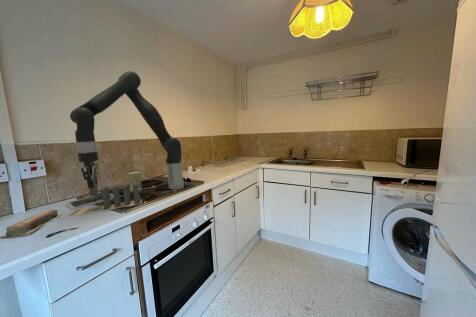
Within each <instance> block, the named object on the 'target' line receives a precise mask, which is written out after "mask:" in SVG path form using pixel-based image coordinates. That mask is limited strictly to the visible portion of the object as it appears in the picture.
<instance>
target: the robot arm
mask: <svg viewBox="0 0 476 317" xmlns="http://www.w3.org/2000/svg"><path fill="white" fill-rule="evenodd" d="M141 81H142V80H141V77H140V76H139V74H138V73H136V72H135V71H130V70H129V71H125V72H124V73H123V74H121V75H120V76H119V77H118V80H117V81H116V82H115V83H113V84H112V85H110V86H109V87H108V88H105V89H104V90H102V91H100V92H99V93H97V94H96V95H94V96H93V97H92V98H90V99H89V100H88V101H86V102H85V103H83V104H81V105H79V106H78V107H76V108H74V109H73V110H71V112H70V114H69V118H70V120H71V121H72V122H73V123H74V124H76V130H75V132H74V135H75V142H76V153H77V158H78V162H79V163H83V167H81V169H80V170H81V172H82V176H83V179H84V180H85V181H86V184H87V188H88V189H89V188H93V187H94V182H93V175H94V174H95V176H96V183H97V185H98V184H99V183H98V176H99V170H98V163H95V162H98V161H99V153H98V148H97V143H96V139H95V132H94V131H95V116H97V115H98V114H101V113H103V112H104V111H106V110H107V109H108V108H109V107H111V106H112V105H113V104H114V103H115V102H117V101H118V100H119V99H120V98H121V97H123V96H124V95H126V96H127V97H128V99H129V100H130V101H131V103H132V104H133V105H134V106H135V108H136V109H137V111H138V113H139V114H140V115H141V116H142V118H143V120H144V121H145V122H146V124H147V125H148V126H149V128H150V129H151V130H152V132H153V134H155V136H156V137H157V139H158V141H159V142H160V144H161V146H162V147H163V150H165V151H166V155H167V156H166V158H165V163H166V174H167V181H168V189H170V190H175V191H177V190H182V189H184V188H185V187H184V186H185V185H184V174H183V167H182V157H183V156H182V144H181V142H180V140H179V139H177V138H175V137H172V136H171V134H170V133H169V132H168V130H167V127H166V126H165V122H164V120H163V118H162V116H161V114H160V112H159V110H158V109H157V108H156V107H155V106H154V105H153V103H150V102H149V101H148V100H147V99H146V98H144V96H143V95H142V94H141V92H140V90H139V87H140V86H141V83H142V82H141ZM88 175H89V177H88Z"/></svg>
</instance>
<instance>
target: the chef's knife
mask: <svg viewBox="0 0 476 317" xmlns="http://www.w3.org/2000/svg"><path fill="white" fill-rule="evenodd" d="M79 228H80V227H73V228H68V229H63V230H58V231H56V232H53V233H50V234H47V235H45V238H50V237H52V236H55V235H58V234H60V233H61V234H62V233H63V232H66V231H70V230H71V231H74V230H77V229H79Z"/></svg>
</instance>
